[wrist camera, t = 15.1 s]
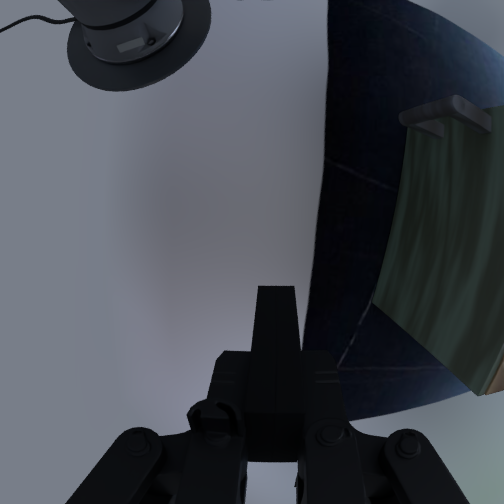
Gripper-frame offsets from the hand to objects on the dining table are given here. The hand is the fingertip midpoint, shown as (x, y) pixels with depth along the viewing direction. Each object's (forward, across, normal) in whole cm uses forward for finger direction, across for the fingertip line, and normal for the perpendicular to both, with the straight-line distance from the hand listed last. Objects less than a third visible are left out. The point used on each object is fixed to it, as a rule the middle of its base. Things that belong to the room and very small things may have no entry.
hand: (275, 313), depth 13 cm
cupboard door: (+28, +15, -2) cm, 32 cm away
